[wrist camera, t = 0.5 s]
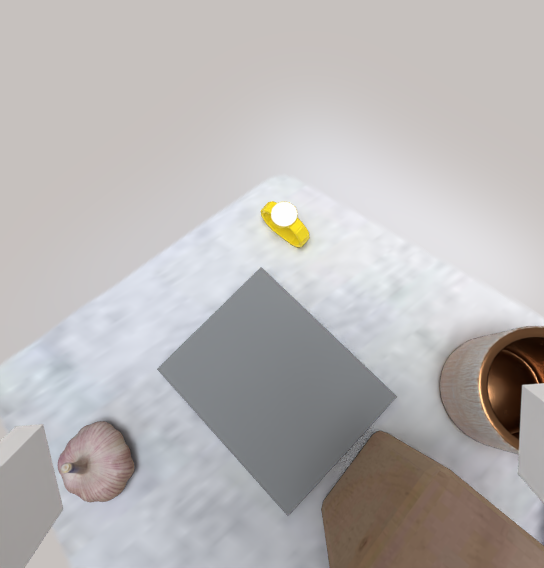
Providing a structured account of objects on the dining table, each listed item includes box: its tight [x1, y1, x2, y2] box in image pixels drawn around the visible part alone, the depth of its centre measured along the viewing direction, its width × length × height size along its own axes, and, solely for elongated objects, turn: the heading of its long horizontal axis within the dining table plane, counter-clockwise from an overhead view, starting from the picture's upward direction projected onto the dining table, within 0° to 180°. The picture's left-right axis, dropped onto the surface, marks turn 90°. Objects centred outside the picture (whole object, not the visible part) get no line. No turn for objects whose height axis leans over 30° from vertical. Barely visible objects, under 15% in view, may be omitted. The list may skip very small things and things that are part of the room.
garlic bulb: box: [58, 421, 134, 502], centre depth 39 cm, size 8×7×8 cm
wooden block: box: [321, 431, 544, 568], centre depth 30 cm, size 10×10×20 cm
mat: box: [157, 268, 397, 516], centre depth 43 cm, size 20×16×1 cm
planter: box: [440, 326, 544, 455], centre depth 37 cm, size 11×11×10 cm
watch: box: [261, 201, 310, 247], centre depth 45 cm, size 6×3×6 cm, turn 50°
